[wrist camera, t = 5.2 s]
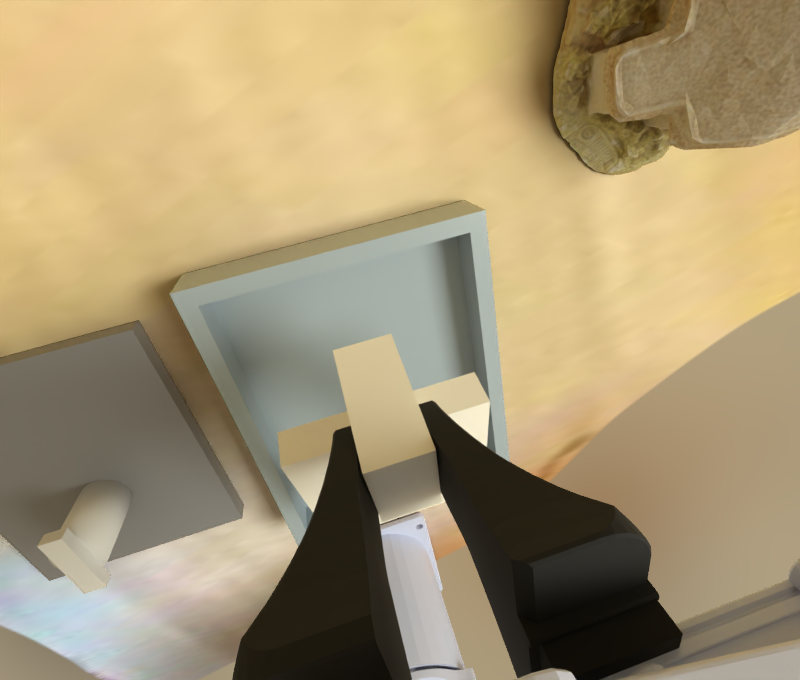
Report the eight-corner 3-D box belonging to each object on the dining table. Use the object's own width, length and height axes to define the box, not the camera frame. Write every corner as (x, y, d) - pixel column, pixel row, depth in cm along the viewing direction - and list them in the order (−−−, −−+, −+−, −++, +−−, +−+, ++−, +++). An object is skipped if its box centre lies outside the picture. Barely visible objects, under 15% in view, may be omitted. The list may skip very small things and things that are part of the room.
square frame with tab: (472, 463, 23) (509, 548, 20) (327, 511, 22) (344, 607, 19) (475, 308, 15) (541, 416, 12) (241, 376, 14) (246, 511, 11)
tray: (494, 447, 29) (510, 474, 27) (297, 512, 28) (298, 545, 25) (464, 200, 21) (485, 210, 19) (182, 274, 19) (169, 293, 17)
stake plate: (243, 504, 26) (234, 582, 22) (57, 564, 25) (9, 659, 21) (138, 320, 20) (96, 378, 16) (-118, 389, 19) (-242, 474, 14)
